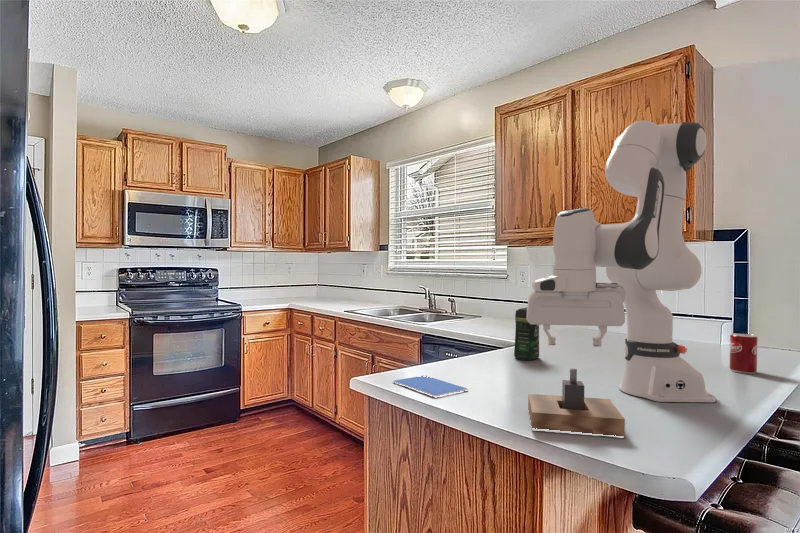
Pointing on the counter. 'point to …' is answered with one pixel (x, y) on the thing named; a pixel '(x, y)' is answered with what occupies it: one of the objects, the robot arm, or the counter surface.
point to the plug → (573, 392)
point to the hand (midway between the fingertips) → (574, 345)
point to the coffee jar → (525, 337)
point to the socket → (575, 415)
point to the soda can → (743, 353)
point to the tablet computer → (430, 385)
